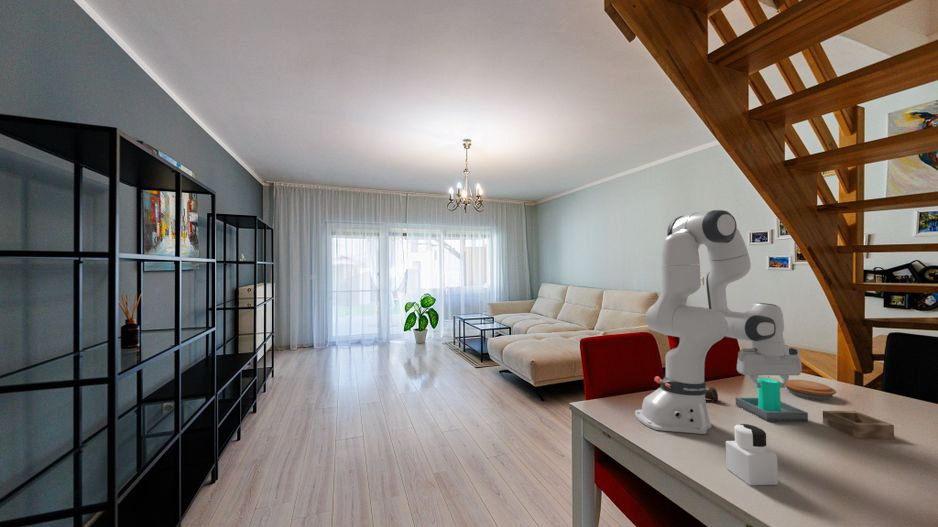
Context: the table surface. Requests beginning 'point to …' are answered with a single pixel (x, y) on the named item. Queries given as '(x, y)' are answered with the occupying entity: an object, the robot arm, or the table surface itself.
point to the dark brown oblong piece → (712, 394)
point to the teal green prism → (769, 395)
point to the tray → (785, 415)
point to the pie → (810, 389)
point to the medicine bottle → (751, 456)
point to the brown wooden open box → (858, 424)
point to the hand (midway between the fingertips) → (769, 387)
